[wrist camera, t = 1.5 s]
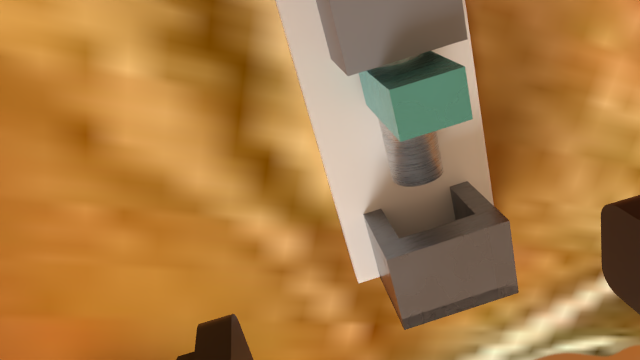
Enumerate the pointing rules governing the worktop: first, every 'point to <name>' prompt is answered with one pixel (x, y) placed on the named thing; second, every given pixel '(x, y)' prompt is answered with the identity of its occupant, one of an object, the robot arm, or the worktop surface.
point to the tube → (416, 111)
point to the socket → (446, 260)
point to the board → (363, 125)
